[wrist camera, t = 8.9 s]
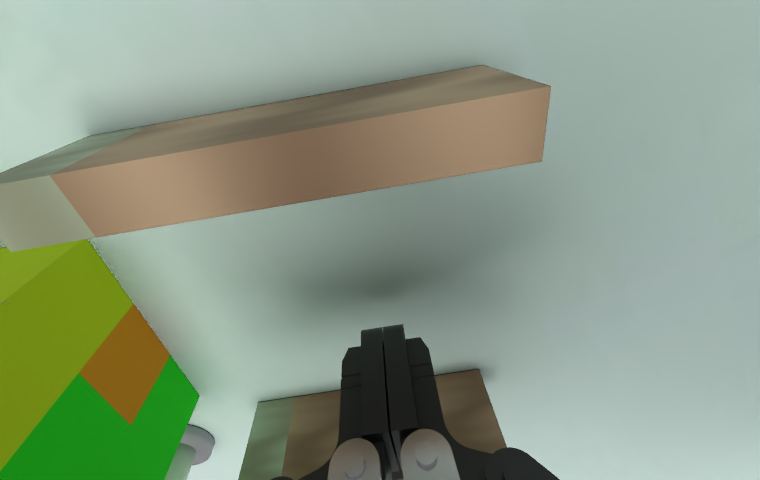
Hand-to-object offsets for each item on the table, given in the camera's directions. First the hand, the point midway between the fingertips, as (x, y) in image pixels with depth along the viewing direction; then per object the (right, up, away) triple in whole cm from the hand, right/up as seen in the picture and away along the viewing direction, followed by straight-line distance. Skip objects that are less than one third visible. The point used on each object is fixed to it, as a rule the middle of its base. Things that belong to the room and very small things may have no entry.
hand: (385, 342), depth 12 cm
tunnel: (-1, -1, +4) cm, 4 cm away
